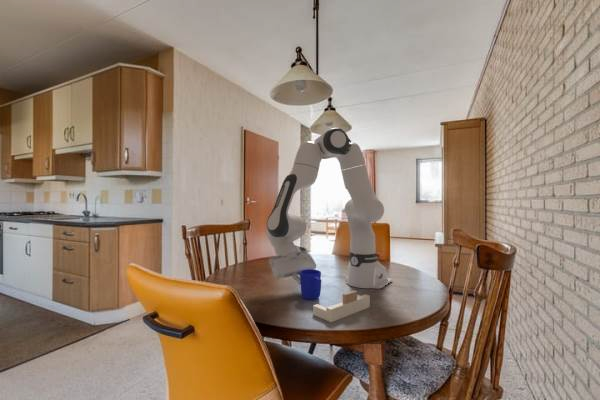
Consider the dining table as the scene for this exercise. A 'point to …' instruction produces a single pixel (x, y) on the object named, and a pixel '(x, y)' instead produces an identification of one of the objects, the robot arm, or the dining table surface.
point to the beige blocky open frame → (343, 307)
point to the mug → (310, 283)
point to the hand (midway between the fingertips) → (302, 283)
